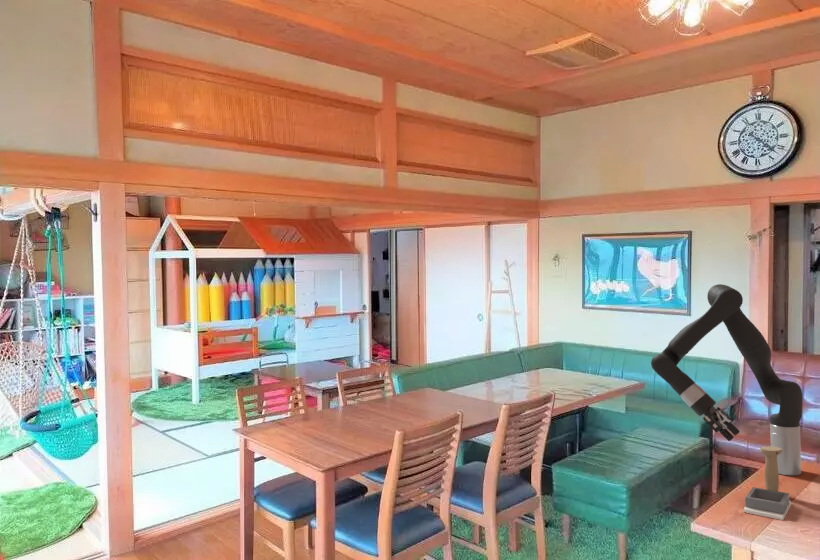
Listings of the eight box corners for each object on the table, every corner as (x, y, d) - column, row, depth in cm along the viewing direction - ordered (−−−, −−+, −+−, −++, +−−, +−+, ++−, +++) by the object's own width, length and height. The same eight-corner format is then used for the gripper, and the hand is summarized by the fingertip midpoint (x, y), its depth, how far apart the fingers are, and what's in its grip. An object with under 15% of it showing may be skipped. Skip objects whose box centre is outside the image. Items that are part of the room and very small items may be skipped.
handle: (786, 495, 197) (785, 449, 196) (770, 497, 195) (768, 451, 195) (774, 490, 201) (773, 445, 201) (758, 492, 200) (756, 447, 200)
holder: (753, 497, 196) (753, 485, 196) (791, 504, 189) (790, 491, 189) (743, 512, 184) (743, 499, 184) (783, 520, 178) (782, 506, 178)
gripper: (699, 396, 205) (738, 434, 198) (710, 389, 216) (747, 425, 209) (683, 409, 209) (721, 448, 201) (695, 402, 219) (731, 438, 212)
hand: (734, 436), depth 205 cm, fingers open, 8 cm apart
